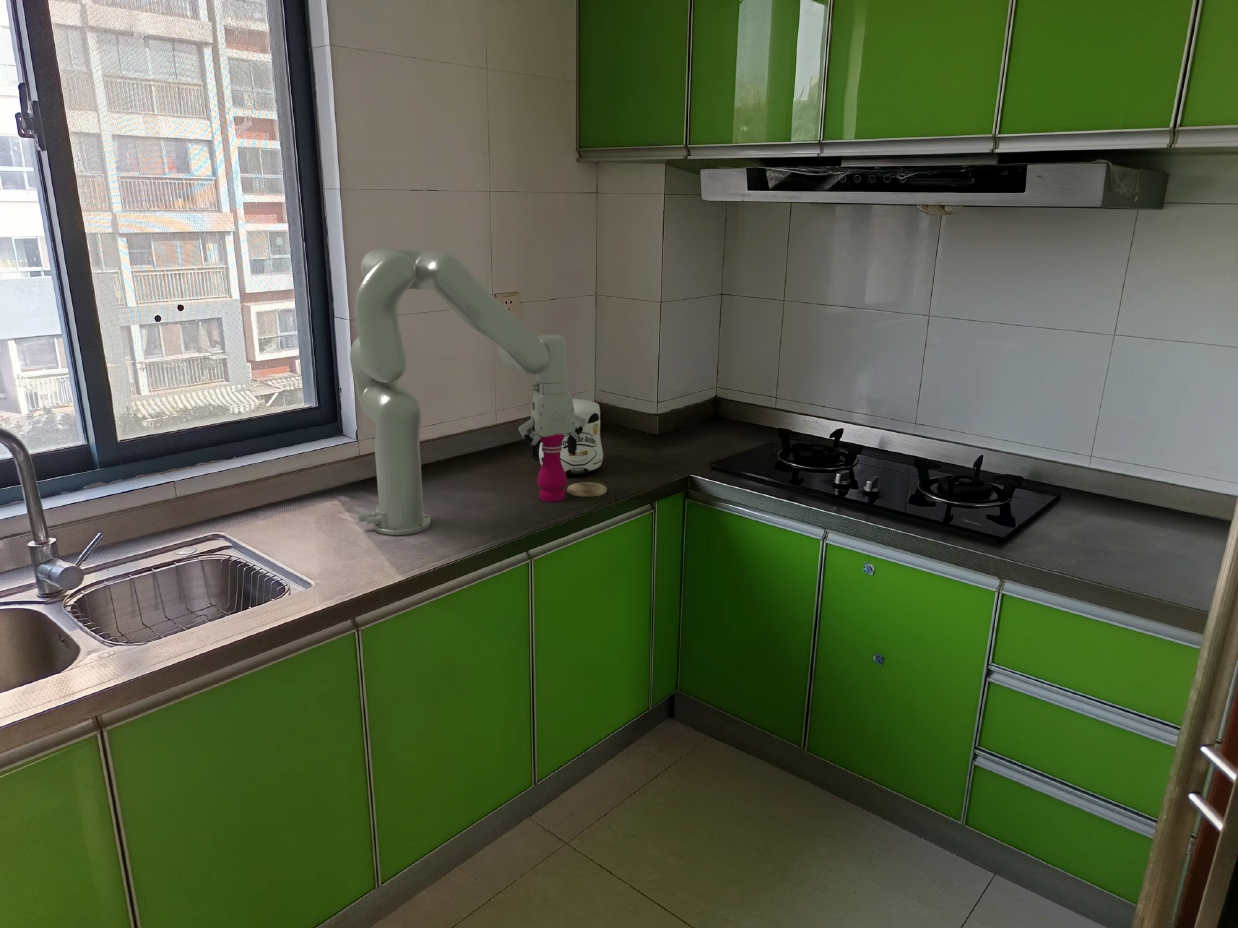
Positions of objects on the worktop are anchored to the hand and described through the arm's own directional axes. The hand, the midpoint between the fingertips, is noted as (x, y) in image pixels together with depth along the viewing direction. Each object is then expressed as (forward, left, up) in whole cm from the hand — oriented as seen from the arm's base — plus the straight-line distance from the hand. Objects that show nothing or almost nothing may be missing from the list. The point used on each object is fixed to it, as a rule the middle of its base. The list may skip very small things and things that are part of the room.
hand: (553, 456), depth 216 cm
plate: (+9, +1, -11) cm, 14 cm away
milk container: (+13, +19, -11) cm, 26 cm away
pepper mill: (-1, 0, -11) cm, 11 cm away
